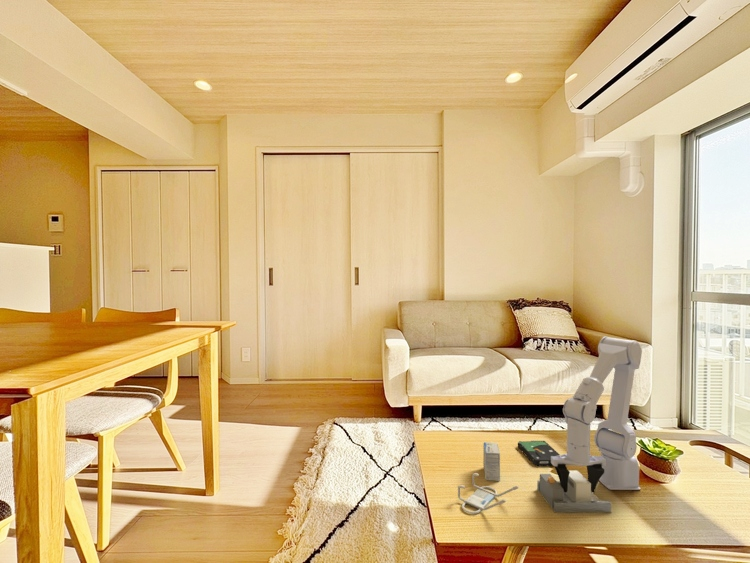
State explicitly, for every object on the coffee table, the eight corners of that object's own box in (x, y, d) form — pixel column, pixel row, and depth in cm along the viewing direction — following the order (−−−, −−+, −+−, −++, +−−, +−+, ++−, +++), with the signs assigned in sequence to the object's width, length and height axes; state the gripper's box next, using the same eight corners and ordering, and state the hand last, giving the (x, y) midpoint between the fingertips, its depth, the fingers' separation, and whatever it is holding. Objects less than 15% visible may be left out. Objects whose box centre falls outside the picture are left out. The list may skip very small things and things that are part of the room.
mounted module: (549, 490, 113) (550, 471, 112) (563, 507, 105) (563, 486, 104) (539, 490, 113) (539, 471, 112) (552, 507, 105) (552, 486, 104)
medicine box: (500, 481, 118) (500, 453, 118) (485, 480, 119) (485, 452, 119) (497, 469, 126) (497, 442, 126) (483, 467, 127) (483, 441, 127)
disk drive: (566, 467, 128) (544, 447, 143) (566, 459, 128) (544, 439, 143) (535, 468, 128) (516, 447, 143) (535, 460, 128) (516, 440, 143)
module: (577, 490, 113) (577, 470, 113) (590, 505, 106) (591, 483, 106) (563, 490, 113) (563, 470, 113) (575, 505, 106) (576, 483, 106)
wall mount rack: (477, 484, 117) (477, 465, 117) (522, 501, 108) (522, 480, 108) (451, 507, 105) (451, 486, 105) (500, 529, 97) (500, 506, 96)
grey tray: (587, 489, 114) (587, 480, 114) (611, 512, 103) (611, 503, 103) (537, 489, 114) (537, 480, 114) (555, 512, 103) (555, 502, 103)
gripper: (595, 436, 112) (595, 482, 113) (546, 436, 112) (545, 482, 113) (610, 447, 105) (610, 496, 106) (557, 447, 105) (557, 496, 105)
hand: (577, 490), depth 109 cm, fingers open, 7 cm apart
